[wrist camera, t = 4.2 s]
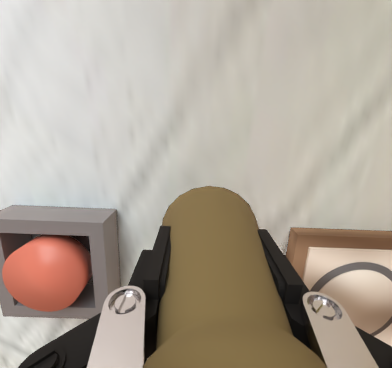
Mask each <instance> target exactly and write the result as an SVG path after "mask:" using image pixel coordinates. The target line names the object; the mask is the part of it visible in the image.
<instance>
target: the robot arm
mask: <svg viewBox="0 0 392 368" xmlns="http://www.w3.org/2000/svg"><path fill="white" fill-rule="evenodd" d="M170 228H171V226H160V229H159V232H158V235H157V238H156V241H155V244H154V247H153V250H143V251H142V252H141V255H140V257H139V260H138V262H137V265H136V267H135V270H134V272H133V275H132V277H131V279H130V282H129V284H128V286H124V287H120V288H118V289H116V290H114V291H113V292H111V293H110V294H109V295H108V297H107V298H106V300H105V302H104V305H103V308H102V312H101V313H99V314H97V315H96V316H94V317H92V318H90V319H89V320H87V321H85V322H84V323H82V324H80V325H79V326H77V327H75V328H74V329H72V330H70V331H68V332H67V333H65V334H63V335H62V336H60V337H58V338H57V339H55V340H53V341H51V342H50V343H48V344H46V345H45V346H43V347H41V348H40V349H38V350H37V351H35V352H34V353H32V354H31V355H29V356H28V357H27V358H26V359H25V360H24V361H23V362H22V363H21V365H20V366H19V367H18V368H143V366H144V364H145V362H146V361H147V358H149V357H150V356H151V355H152V354H153V353H154V352H155V351H156V340H157V323H158V310H159V302H160V300H161V298H162V296H163V295H164V293H165V287H166V279H167V272H168V265H169V258H170V251H171V240H170ZM257 231H258V234H259V237H260V240H261V243H262V246H263V250H264V253H265V257H266V260H267V262H268V265H269V268H270V271H271V274H272V277H273V280H274V282H275V285H276V288H277V291H278V294H279V296H280V297H281V299H282V302H283V305H284V309H285V312H286V315H287V318H288V321H289V324H290V327H291V330H292V333H293V336H294V337H295V338H297V339H298V340H299V341H300V342H302V343H303V344H304V345H305V346H307V347H308V348H309V349H310V350H312V351H313V352H314V353H315V354H316V355H318V357H319V358H320V359H321V360H322V362H323V363H324V364H325V365H326V366H327V368H392V346H390V345H388V344H386V343H385V342H383V341H381V340H379V339H378V338H376V337H374V336H372V335H370V334H369V333H367V332H365V331H363V330H362V329H360V328H358V327H356V326H354V324H353V323H352V321H351V319H350V317H349V316H348V314H347V312H346V311H345V309H344V308H343V307H342V305H341V304H339V303H338V302H337V301H336V300H335V299H333V298H331V297H330V296H328V295H325V294H323V293H319V292H310V291H309V289H308V288H307V286H306V285H305V284H304V282H303V281H302V279H301V278H300V276H299V275H298V273H297V272H296V270H295V269H294V267H293V266H292V264H291V263H290V261H289V260H288V258H287V257H286V256H285V255H283V254H282V252H281V251H280V249H279V248H278V246H277V245H276V243H275V242H274V240H273V239H272V237H271V236H270V234H269V233H268V231H267V230H262V229H257Z"/></svg>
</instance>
